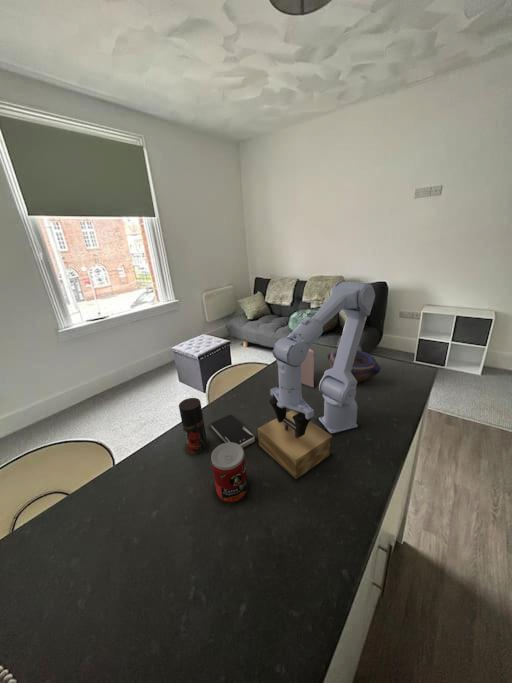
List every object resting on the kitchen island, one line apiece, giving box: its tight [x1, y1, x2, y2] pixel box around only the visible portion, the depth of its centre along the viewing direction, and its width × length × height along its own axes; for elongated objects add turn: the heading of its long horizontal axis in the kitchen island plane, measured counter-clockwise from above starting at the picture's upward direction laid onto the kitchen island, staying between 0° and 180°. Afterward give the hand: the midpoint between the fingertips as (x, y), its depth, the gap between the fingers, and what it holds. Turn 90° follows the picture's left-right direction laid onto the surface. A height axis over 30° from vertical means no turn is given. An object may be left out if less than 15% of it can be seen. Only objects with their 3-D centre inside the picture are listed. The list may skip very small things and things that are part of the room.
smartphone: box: [210, 414, 256, 449], centre depth 87 cm, size 8×1×15 cm
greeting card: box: [301, 347, 316, 388], centre depth 111 cm, size 11×7×15 cm, turn 13°
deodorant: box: [178, 397, 208, 455], centre depth 80 cm, size 6×6×15 cm
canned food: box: [210, 442, 248, 504], centre depth 66 cm, size 8×8×11 cm
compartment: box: [257, 430, 331, 480], centre depth 78 cm, size 13×16×5 cm
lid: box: [257, 409, 333, 463], centre depth 76 cm, size 13×16×5 cm
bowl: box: [327, 349, 381, 384], centre depth 112 cm, size 18×18×10 cm
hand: (291, 427), depth 75 cm, fingers open, 7 cm apart
